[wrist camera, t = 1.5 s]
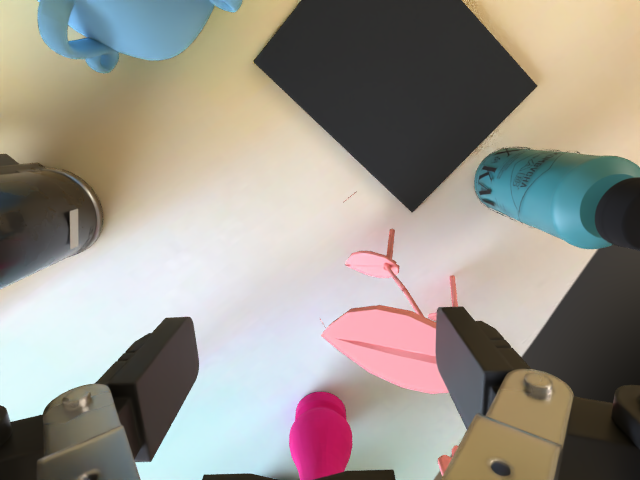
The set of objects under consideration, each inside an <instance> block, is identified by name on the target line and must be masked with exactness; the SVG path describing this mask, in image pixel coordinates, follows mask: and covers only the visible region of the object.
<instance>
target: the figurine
mask: <svg viewBox="0 0 640 480" xmlns="http://www.w3.org/2000/svg"><path fill="white" fill-rule="evenodd" d="M356 192H357V191H356ZM356 192H355V193H356ZM350 197H351V196H350ZM350 197H349V198H350ZM345 201H346V200H345ZM345 201H344V202H345ZM394 233H395V230H394V229H390V231H389V240H388V249H387V256H385V255H382V254H378V253H375V252H371V251H359V252H355V253H352V254H351V255H350V257H349V258H348V260H347V261H346V263H345V265H346V266H348V267H350V268H352V269H354V270H356V271H359V272H361V273H363V274H366V275H369V276H373V277H378V278H389V277H392V278H393V279H394V280H395V282H396V283H397V284H398V286H399V287H400V289H401V290H402V291H403V292H404V294H405V295H406V297H407V299H408V300H409V302H410V303H411V305H412V307H413V308H414V310H415V311H416V313H417V314H416V313H414V312H412V311H408V310H403V309H397V308H392V307H387V306H382V305H377V306H369V307H361V308H353V309H350V310H349V311H347V312H346V313H345V314H343V315H342V316H341V317H339V318H338V319H336V320H335V321H334V322H332V323H331V324H330V325H329V326H328V327H327V329H326V330H325V331H324V332H323V333H322V334H321V336H322V337H323V338H324V339H326V340H327V341H328V342H329V343H330V344H331V345H333V346H334V347H335V348H336V349H337V350H339V351H340V352H341V353H343V354H344V355H346V356H347V357H348V358H350V359H351V360H352V361H354V362H355V363H357V364H358V365H359V366H361V367H362V368H363V369H365V370H366V371H367V372H369V373H371V374H373V375H376V376H378V377H380V378H382V379H384V380H386V381H389V382H391V383H393V384H395V385H397V386H400V387H402V388H406V389H411V390H416V391H420V392H425V393H429V394H436V393H449V391H448V389H447V387H446V385H445V383H444V381H443V379H442V377H441V375H440V373H439V370H438V367H437V362H436V353H435V349H436V322H434V321H436V316H437V313H431V314H429V315H428V318H429V319H427V318H425V317H424V316H423V314H422V312H421V311H420V309H419V308H418V306H417V305H416V303H415V301H414V300H413V298H412V297H411V295H410V293H409V292H408V290H407V289H406V288H405V286H404V285H403V284H402V283H401V281H400V280H399V279H398V278H397V277H396V275H397V274H398V273H399V265H397V264H396V263H397V262H395V261H394V260H392V254H393V243H394ZM450 286H451V298H452V307H458V303H457V293H456V284H455V276H450ZM430 319H431V320H430ZM320 320H321V319H320ZM432 320H434V321H432ZM322 323H323V322H322ZM323 325H324V324H323ZM325 328H326V327H325ZM457 448H458V446H457V445H456V446H454V447H453V449H452V457H453V456H454V454H455V452H456V450H457ZM451 459H452V458H451V457H449V456H447V455H443V456H441V457H439V458H438V464H439V468H440V471H441V473H442V476H443V474H444V472H445V471H446V469H447V467H448V465H449V463H450V461H451Z"/></svg>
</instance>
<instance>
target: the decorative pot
mask: <svg viewBox="0 0 640 480" xmlns="http://www.w3.org/2000/svg"><path fill="white" fill-rule="evenodd" d="M37 1H38V2H39V8H38V27H39V31H40V35H41V37H42V39H43V40H44V42H45V43H46V44H47V45H48V47H49V48H51V49H52V50H53V51H55V52H56V53H58V54H60V55H62V56H64V57H67V58H71V59H85V60H86V62H87V64H88V65H89V66H90V67H91V68H92V69H93V70H95V71H96V72H99V73H109V72H111V71H112V70H113V69H114V67H115V66H116V64H117V62H118V60H119V53H122V54H126V55H129V56H132V57H136V58H141V59H145V60H165V59H169V58H172V57H174V56H176V55H179V54H180V53H181V52H183V51H184V50H185V49H187V48H188V47H189V45H190V44H191V43H192V42H193V41H194V40H195V39H196V37H197V36H198V35H199V33H200V32H201V31H202V29H203V27H204V26H205V24H206V22H207V21H208V19H209V17H210V14H211V12H212V10H213V8H214V5H215V6H216V7H218V8H220V9H222V10H225V11H229V12H236V11H237V10H238V9H239V8H240V6H241V4H242V0H37ZM68 26H70V27H71V28H73V29H74V30H76V31H77V32H79V33H80V34H82V35H84V36H85V37H87V38H84V39H79V40H73V41H68V38H67V29H68Z"/></svg>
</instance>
